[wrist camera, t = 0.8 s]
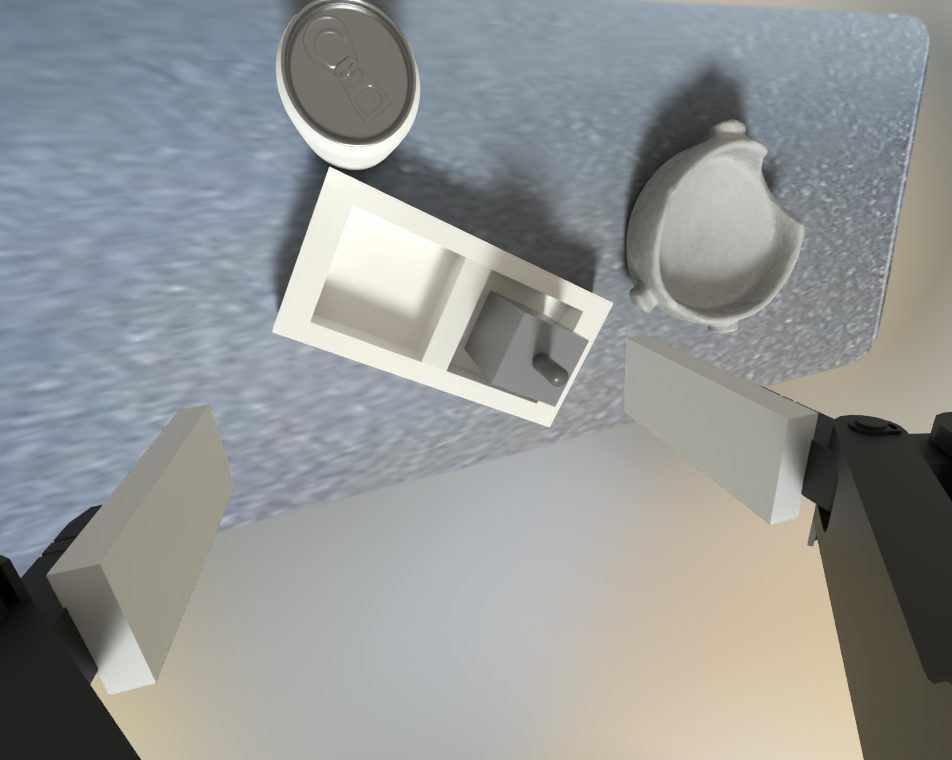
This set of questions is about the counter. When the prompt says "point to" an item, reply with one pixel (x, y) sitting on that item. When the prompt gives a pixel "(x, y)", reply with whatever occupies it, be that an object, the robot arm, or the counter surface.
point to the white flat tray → (416, 294)
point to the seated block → (524, 349)
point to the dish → (711, 234)
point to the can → (348, 81)
